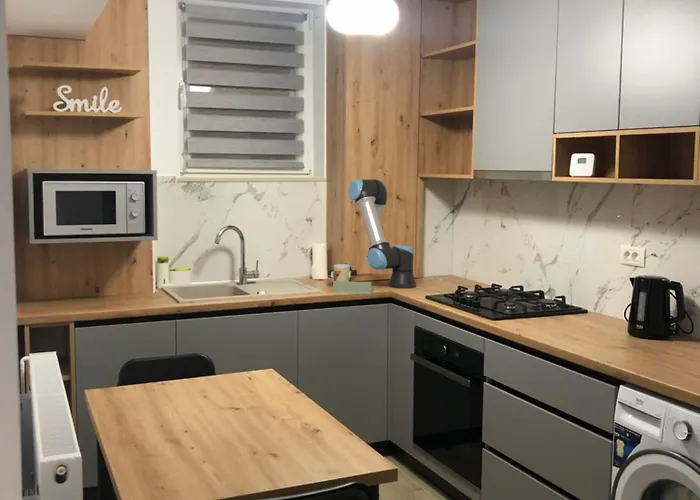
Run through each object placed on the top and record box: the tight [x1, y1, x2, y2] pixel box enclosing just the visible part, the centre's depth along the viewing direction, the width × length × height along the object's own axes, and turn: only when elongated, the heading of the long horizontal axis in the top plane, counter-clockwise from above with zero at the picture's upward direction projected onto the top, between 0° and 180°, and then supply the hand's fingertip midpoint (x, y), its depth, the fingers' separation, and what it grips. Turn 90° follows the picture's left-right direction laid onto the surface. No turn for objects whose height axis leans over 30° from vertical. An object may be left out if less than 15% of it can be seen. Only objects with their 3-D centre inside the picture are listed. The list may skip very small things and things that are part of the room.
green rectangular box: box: [332, 280, 374, 295], centre depth 401 cm, size 20×14×6 cm
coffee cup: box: [332, 263, 350, 282], centre depth 414 cm, size 9×9×12 cm
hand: (340, 275), depth 410 cm, fingers closed on coffee cup, 9 cm apart
